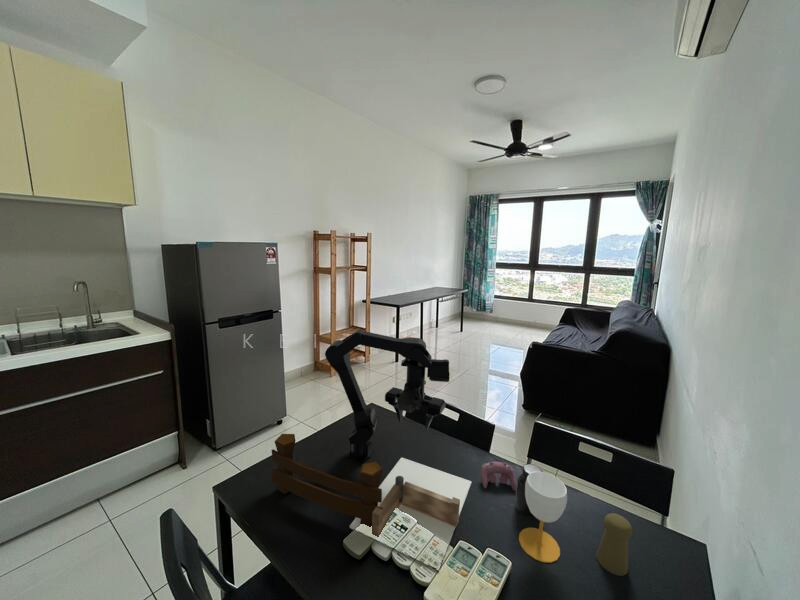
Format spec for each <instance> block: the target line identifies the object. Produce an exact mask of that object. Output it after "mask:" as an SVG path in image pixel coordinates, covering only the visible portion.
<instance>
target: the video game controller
mask: <svg viewBox="0 0 800 600" xmlns="http://www.w3.org/2000/svg"><path fill="white" fill-rule="evenodd" d="M480 474H481V475H480V476H481V481H482V483H481V484H482V487H483V489H487V487H488V484H489V483H488V481H489V482H490V483H492V484H494V483H496V482H497V476H496V474H500V475H499V476H498V480H499V482H500V483H501V484H504V485H505V484H506V483H508V481H509V482H510V486H511V490H512V491H514V492H515V491H516V492H517V479H516V478H517V477H516V475H515V470H514V468H513V467H512V466H511V465H509V464H508V463H504V462H502V461H501V462H500V461H489V462H485V463H483V464H482V465H481V473H480Z"/></svg>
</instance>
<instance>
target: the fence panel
mask: <svg viewBox="0 0 800 600" xmlns="http://www.w3.org/2000/svg"><path fill="white" fill-rule="evenodd" d="M403 503H404V504H407V505H409V506H411V507H414V508H416V509H419V510H421V511H423V512H426V513H428V514H431V515H433V516H435V517H438V518H440V519H443V520H445V521H447V522H449V523H451V524H453V525H457V526H458V524H457V523H459V521H458V520H459V519H460V516H459V506H460V499H457V498H454V497H453V498H452V499H450V498H448V497H445V496H442V495H440V494H437V493H434V492H432V491H429V490H427V489H424V488H421V487H419V486H416V485H414V484H411V483H408V482H405V483H404V485H403Z"/></svg>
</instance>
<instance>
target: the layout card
mask: <svg viewBox="0 0 800 600" xmlns="http://www.w3.org/2000/svg"><path fill="white" fill-rule="evenodd" d="M397 476H402V477H403V478H404V483H405V482H408V483H411V484H414V485H416V486H419V487H421V488H424V489H427V490H429V491H432V492H434V493H437V494H440V495H442V496H445V497H448V498H450V499H452V498H453V497H454V498H457V499H460V506H459V517H460V515H461V513H462V510H463V507H464V505H465V501H467V500H466V499H467V496H468V493H469V491H470V489H471V487H472V481H471V480H468V479H466V478H463V477H460V476H457V475H453V474H451V473H448V472H445V471H442V470H440V469H437V468H433V467H430V466H427V465H425V464H422V463H419V462H417V461H415V460H414V461H413V460H410V459H407V458H405V457H400V459H399V460H398V461H397V462H396V464H395V465H394V467H393V468H392V469H391V471H390V472H389V473H388V474H387V476H386V477H385V478H384V480H383V481H382V482H381V484H379V487H378V488H380V489H382V501H383V500H384V498H385V497H386V495H387V494H388V493H389V491H390V490H391V488H392V487H393V485H394V484H395V479H396V477H397ZM403 485H404V484H403ZM382 501H381V503H382ZM381 503H380V502H378V507H379V505H380V504H381ZM396 508H398V509H399V510H400V511H402V512H404V513H407V514H409V515H410V516H412V517H413V518H415V519H416V520H417V522H418V523H419V524H420V525H421V526H422V527H424V528H426V529H428V530H429V531H430V532H432V533H433V534H434V535H435V536H436V537H438V538H439V539H440V540H442V541H444V542H445V543H447V544H448V545H449V546H450V543H451V540H452V538H453V535H454V533H455V529H456V527H458V523H459V519H458V523H457V525H453V524H451V523H449V522H447V521H445V520H443V519H440V518H438V517H435V516H433V515H431V514H428V513H426V512H423V511H421V510H419V509H416V508H414V507H411V506H409V505H407V504H404V503H403V501H402V502H401V503H399V504H398V506H397V507H396ZM360 522H361V519H360V518H356V517H354V519H353V521H352V522H351V523H350V524H349V529H351V530H353V531H355V530H354V529H356V528H357V527H359V526H360Z"/></svg>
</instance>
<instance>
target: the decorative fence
mask: <svg viewBox="0 0 800 600" xmlns="http://www.w3.org/2000/svg"><path fill="white" fill-rule="evenodd" d="M274 444H275V448H276V450H275V449H273V448H272V449H271V458H272V459H271V460H272V462H274V463H275V464H277V465H278V468H277V467H275V466H273V467H272V470H271V471H272V473H271V482H273V483H274V484H276V485H277V487H276V490H277V491H279V492H280V493H282V494H283V495H286V494H287V493H289V492H290V493H292V494H293V495H295V496H298V497H300V498H303V499H306V500H307V501H309V502H312V503H315V504H317V505H320V506H322V507H325V508H327V509H330V510H332V511H334V512H337V513H340V514H344V515H348V516H351V517H354V518H360V519H361V522H360V524H365V525H367V526H369V527H371V526H372V512H373V511H374V509H375V508H376V507H378V502H380V503H381V501H382V489H380V488H379V486H380V482H381V481H380V480H381V477H382V473H383V470H384V469H383V467H382V466H381V464H379V463H378V462H377V461H369V462H365V463H364V462H362V464H361V466H360V467H361V468H360V470H359V475H360V480H361V483H360V482H356V481H351V480H348V479H343V478H339V477H338V476H335V475H331V474H330V473H327V472H324V471H321V470H318V469H316V468H312V467H309V466H307V465H303V464H301V463H299V462H297V461H296V460H294V458H293V453H294V451H295V445H296V436H295V433H281V434H280V435H279V436H278V437H277V438H276V439H275V440H274ZM294 474H295V475H296V476H298V477H300V478H303V479H306V480H308V481H311V482H314V483H316V484H318V485H321V486H324V487H326V488H329V489H331V490H334V491H337V492H339V493H343V494H346V495H351V496H353V497H358V498H362V500H361V501H360V500H357V499H354V498H351V497H346V496H342V495H338V494H337V493H333V492H331V491H329V490H326V489H323V488H321V487H319V486H316V485H314V484H311V483H308V482H305V481H302V480H300V479H298V478H297V477H295V476H294ZM378 508H380V509H382V510H383V508H382V507H378Z"/></svg>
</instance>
